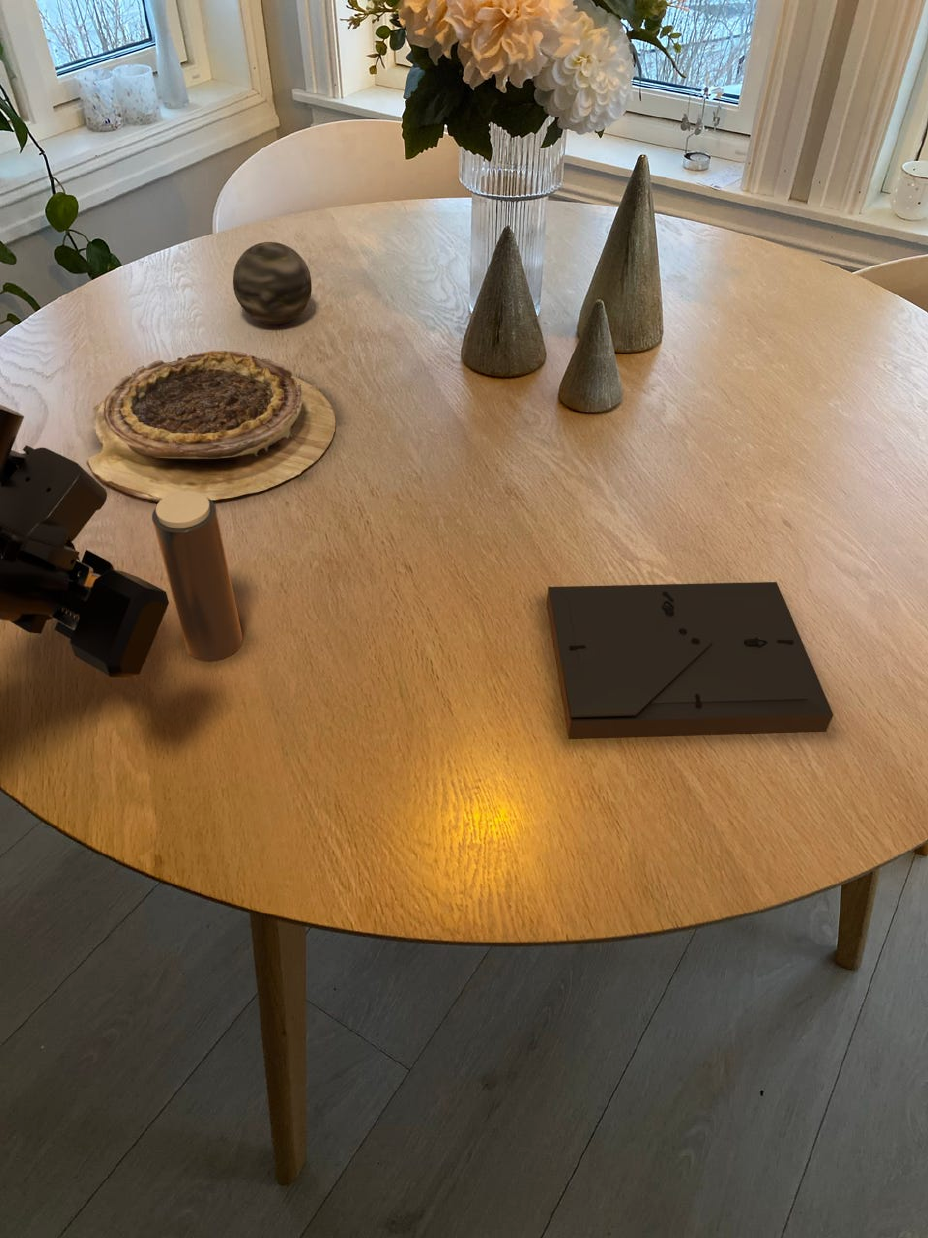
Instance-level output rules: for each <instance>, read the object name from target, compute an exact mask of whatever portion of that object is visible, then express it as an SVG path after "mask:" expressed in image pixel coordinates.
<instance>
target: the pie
mask: <svg viewBox="0 0 928 1238" xmlns="http://www.w3.org/2000/svg"><path fill="white" fill-rule="evenodd" d="M286 368H287V367H285V366H284V365H283V364H282V365H280V364H279V363H277V362H275V361H273V360H271V359H270V358H260V357H256V355H253V354H250V355H248V354H247V353H244V352H241V351H232V350H210V351H206V352H204V351H203V352H200V353H192V354H188V355H187V356H186V357H184V358H183V357H182V356H181V357H180V356H179V357H177V358H176V360H173V361H168V362H164V360H163V359H161V360H155V361H153V362H151V363H149V364H147V365H146V366H144V365H142V366H140V367H138V368H137V369H136V370H135V371H132V373H131V375H130V374H129V375H126V376H125V377H123V378H121V379H120V381H119V382H118V383H117V384H116V385H115V386H114V387H113V389H112V390H111V391H109V393H108V394H107V395H106V397H105V398H104V400H102V401H100V403H99V404H97V405H95V406H94V407H93V408H92V411H93V413H94V421H93V422H92V424H94V425H93V428H94V429H93V430H96V431H95V433H96V436H97V437H98V438H97V439H98V441H99V443H100V444H101V445H102V447H101V448H102V449H101V451H99V452H97V453H96V454H93V455H92V456H90V457H87V459H86V466H87V467H88V469H89V470H90V471H91V473H93V475H94V476H95V477H96V479H98V480H99V481H100V482H103V483H106V484H108V485H109V486H110V487H113V488H115V489H117V490H119V491H120V492H124V493H126V494H128V495H132V496H135V497H136V498H139V499H144V500H148V501H153V502H157V503H159V502H160V501H161V500H162V499H163V498H164V497H166V496H168V495H170V494H173V493H176V492H181V491H194V492H198V493H201V494H203V495H204V496H205V497H207V498H208V499H210V500H211V501H218V500H224V499H225V500H227V499H233V498H236V497H240V496H243V495H248V494H255V493H259V492H262V491H265V490H268V489H270V488H273V487H275V486H278V485H280V484H282V483H284V482H286V481H288V480H290V479H293V478H295V477H296V476H298V475H301V473H302V472H304V471H305V470H306V469H308V468H309V467H310V466H312V465H313V464H314V463H315V462H317V461H318V460H319V459H320V457H321V456H322V455H323V454H324V453H325V451H326V450H327V448H328V447H329V445H330V444H331V442H332V440H333V437H334V434H335V431H336V423H337V422H336V414H335V412H334V411H335V410H334V408H333V407H332V405H331V404H330V402H329V400H328V399H327V398H326V397H325V396H324V395H323V393H322V392H320V391H319V390H318V388H317V389H316V387H315V386H313V385H311V384H310V383H308V382H306V381H304V380H302V379H300V378H298V377H296V376H294V375H293V373H292V371H291V370H290V369H286Z"/></svg>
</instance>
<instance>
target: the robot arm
mask: <svg viewBox="0 0 928 1238" xmlns="http://www.w3.org/2000/svg"><path fill="white" fill-rule="evenodd" d="M24 419H25V415H23V414H21V413H20V412H18V411H16V410H13V409H11V408H9V407H7V406H4V405H2V404H0V621H9V622H11V623H13V624H14V625H16V626H17V627H19V628H20V629H22V630H24V631H26V632H27V633H29V634H38V635H41V634H42V633H43V630H44V628H45V625H46V623H47V621H50V620H56V623H55V626H54V628H53V630H54V631H55V632H57V633H59V634H60V635H62V636H63V637H66V638H67V639H69V644H70V647H71V650H72V652H73V654H74V657H76V658H77V659H79V660H80V661H82V662H83V663H86V664H88V665H89V666H91V667H93V668H94V669H96V671H99V672H101V673H103V674H104V675H106V676H108V677H109V678H115V679H116V678H117V679H133V678H135V677H137V676H139V675H141V672H142V670H143V668H144V665H145V663H146V661H147V658H148V655H149V653H150V650H151V648H152V646H153V644H154V641H155V638H156V637H157V634H158V631H159V629H160V626H161V625H162V624H161V623H162V621H163V619H164V616H165V614H166V611H167V609H168V607H169V605H170V601H169V596H168V593H167V591H166V590H164V589H162V588H160V587H158V586H156V585H155V584H152V583H150V582H149V581H146V580H145V579H143V578H141V577H139V576H136V575H133V574H131V573H128V572H125V571H123V570H119V569H115V567H114V565H113V564H112V563H111V562H110V561H109V560H106V559H105V558H103V557H101V556H99V555H97V554H95V553H94V552H92V551H90V550H88V549H85V551H84V553H83V556H82V559H81V558H80V556H79V555H80V554H81V553H80V551H78V550H77V549H76V547H75V544H74V543H73V541H74V540H76V538H77V537H78V536H79V535H80V533H82V531H83V529H84V528H85V526H86V525H87V524H88V522H89V521H90V520H91V518H92V517H93V516H94V515H95V513H96V512H97V511H100V510H101V509H102V507H104V505H105V503H106V501H107V500H108V493H107V490H106V488H104V486H102V485H101V484H100V483H99V482H98V481H97V480H96V479H95V478H94V477H93V476H92V475H90V473H88V472H87V471H86V470H85V469H84V468H83V467H82V466H81V465H80V464H79V463H78V462H76V461H74V460H72V459H70V458H68V457H65V456H64V455H61V454H60V453H57V452H55V451H53V450H52V449H49V448H47V447H36V448H33V447H31V446H29V445H27V444H26V445H25V446H23V448H22V451H23V452H24V453H21V452H18V451H16V450H13V446H14V444H15V442H16V439H17V436H18V434H19V431H20V428H21V426H22V424H23V421H24Z"/></svg>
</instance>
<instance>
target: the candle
mask: <svg viewBox="0 0 928 1238" xmlns="http://www.w3.org/2000/svg"><path fill="white" fill-rule="evenodd" d="M217 512H218V511H217V507H216V505H215V503H214V502H213V500H210V499H208V498H207V497H205V496H204V495H203V494H201V493H198V492H194V491H181V492H176V493H173V494H170V495H168V496H166V497H164V498H163V499H162V500H161V501H160V502H157V504H156V505H155V508H154V509H153V511H152V514H151V520H152V521H151V522H152V525H153V529H154V532H155V535H156V540H157V543H158V547H159V550H160V554H161V558H162V562H163V566H164V569H165V573H166V576H167V580H168V585H169V588H170V591H171V596H172V599H173V603H174V606H175V607H174V608H175V610H176V614H177V618H178V622H179V626H180V629H181V632H182V637H183V640H184V644H185V647H186V650H187V652H188V654H189V655H190V656H191V657H192V658H193V659H196V660H198V661H203V662H216V661H222V660H224V659H227V658H229V657H230V656H232V655H234V654H235V653H236V652H237V651H238V650H239V649H240V648H241V646H242V643H243V633H242V628H241V622H240V619H239V613H238V608H237V603H236V599H235V593H234V589H233V584H232V580H231V574H230V570H229V566H228V560H227V555H226V551H225V547H224V541H223V536H222V532H221V527H220V522H219V517H218V513H217Z"/></svg>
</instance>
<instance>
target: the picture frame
mask: <svg viewBox="0 0 928 1238" xmlns="http://www.w3.org/2000/svg"><path fill="white" fill-rule="evenodd" d="M547 588H548V589H547V596H546V597H547V598H546V609H547V613H548V621H549V626H550V630H551V631H550V632H551V638H552V644H553V650H554V651H553V652H554V657H555V664H556V669H557V670H556V671H557V676H558V683H559V689H560V695H561V701H562V707H563V713H564V719H565V725H566V732H567V738H568V740H569V739H601V738H602V739H604V738H636V737H670V736H672V737H673V736H676V737H677V736H704V735H705V736H707V735H741V734H742V735H743V734H744V735H745V734H746V735H747V734H776V733H777V734H779V733H782V734H783V733H809V732H810V733H811V732H812V733H813V732H814V733H815V732H816V733H817V732H827V731H828V729H829V725H830V724H831V721H832V719H833V716H834V713H833V710H832V707H831V705H830V703H829V701H828V699H827V696H826V693H825V692H824V689H823V687H822V685H821V682H820V680H819V677H818V675H817V673H816V670H815V668H814V666H813V663H812V661H811V658H810V656H809V654H808V652H807V650H806V647H805V645H804V642H803V640H802V638H801V635H800V633H799V630H798V629H797V626H796V623H795V621H794V619H793V616H792V614H791V612H790V609H789V608H788V605H787V603H786V600H785V598H784V596H783V593H782V591H781V588H780V587H779V584H778V581H762V582H761V581H759V582H758V581H757V582H755V581H753V582H711V583H709V582H708V583H707V582H706V583H669V584H668V583H667V584H665V583H661V584H659V583H658V584H621V585H620V584H618V585H616V584H615V585H612V584H611V585H573V586H570V585H569V586H568V585H567V586H548V587H547Z"/></svg>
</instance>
